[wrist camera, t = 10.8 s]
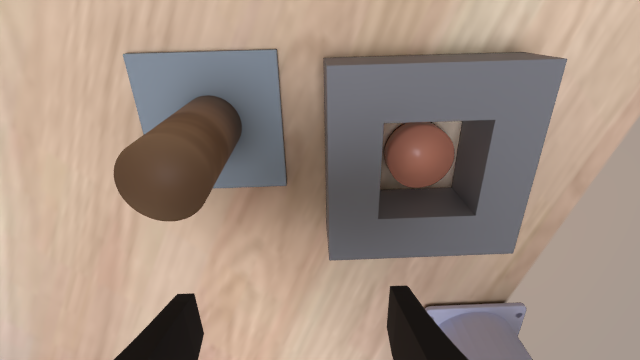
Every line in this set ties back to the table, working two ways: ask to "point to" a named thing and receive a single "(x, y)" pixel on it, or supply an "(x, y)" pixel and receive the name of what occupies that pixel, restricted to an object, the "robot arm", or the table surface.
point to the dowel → (179, 160)
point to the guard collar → (472, 157)
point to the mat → (229, 84)
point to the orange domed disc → (419, 154)
